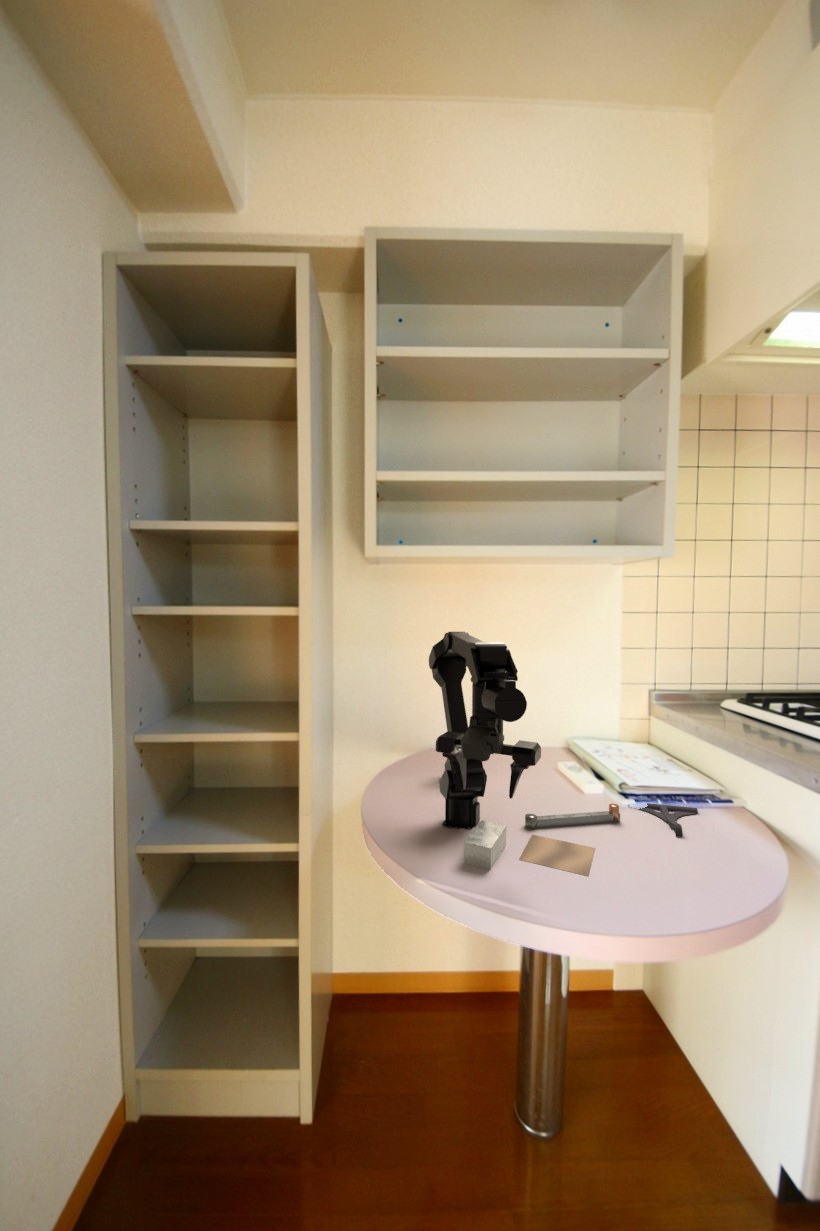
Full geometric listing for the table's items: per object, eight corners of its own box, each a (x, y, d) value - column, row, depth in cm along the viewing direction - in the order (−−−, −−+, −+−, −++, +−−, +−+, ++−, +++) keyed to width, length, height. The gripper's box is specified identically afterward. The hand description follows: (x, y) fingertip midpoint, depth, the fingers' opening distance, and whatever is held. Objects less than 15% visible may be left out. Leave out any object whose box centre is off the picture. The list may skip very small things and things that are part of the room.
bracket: (640, 835, 102) (640, 822, 101) (627, 807, 116) (628, 795, 116) (718, 845, 98) (719, 831, 98) (695, 814, 112) (696, 802, 112)
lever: (527, 831, 101) (528, 814, 101) (523, 826, 103) (523, 809, 103) (621, 824, 105) (621, 807, 105) (614, 819, 107) (614, 803, 107)
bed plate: (518, 862, 89) (518, 859, 89) (532, 837, 99) (532, 834, 99) (588, 879, 84) (588, 876, 84) (595, 851, 94) (595, 847, 94)
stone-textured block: (463, 864, 88) (463, 841, 88) (481, 840, 97) (481, 820, 97) (490, 871, 86) (490, 848, 86) (506, 846, 95) (506, 825, 95)
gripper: (423, 712, 88) (423, 799, 88) (528, 724, 79) (527, 820, 80) (447, 702, 98) (446, 780, 98) (542, 711, 89) (541, 796, 90)
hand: (486, 793), depth 91 cm, fingers open, 9 cm apart
